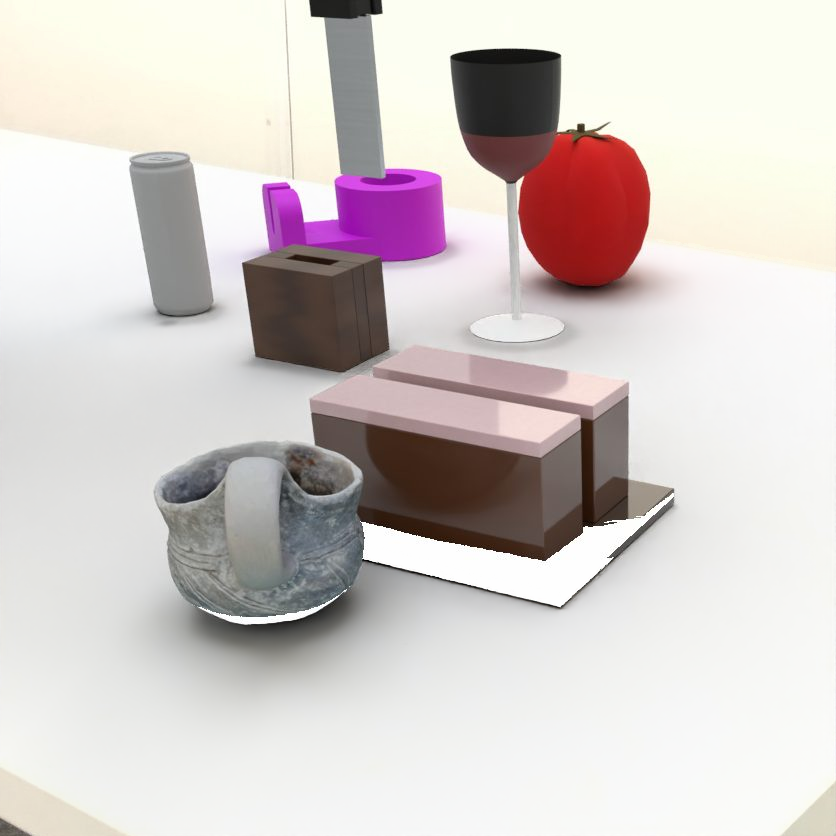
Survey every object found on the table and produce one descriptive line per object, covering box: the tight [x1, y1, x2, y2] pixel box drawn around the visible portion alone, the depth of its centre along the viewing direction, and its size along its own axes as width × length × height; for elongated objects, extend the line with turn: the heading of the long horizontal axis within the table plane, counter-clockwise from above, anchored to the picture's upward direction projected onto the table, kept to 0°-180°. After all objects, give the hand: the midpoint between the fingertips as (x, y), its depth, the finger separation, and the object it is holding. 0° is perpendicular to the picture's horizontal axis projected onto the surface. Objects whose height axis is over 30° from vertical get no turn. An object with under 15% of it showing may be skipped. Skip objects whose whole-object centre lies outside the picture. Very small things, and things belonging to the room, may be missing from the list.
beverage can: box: [128, 150, 215, 317], centre depth 107 cm, size 5×5×12 cm
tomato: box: [517, 121, 651, 287], centre depth 114 cm, size 12×12×13 cm
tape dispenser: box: [261, 168, 447, 262], centre depth 125 cm, size 16×10×6 cm, turn 114°
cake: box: [308, 344, 675, 561], centre depth 74 cm, size 18×14×8 cm
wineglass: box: [449, 47, 565, 343], centre depth 101 cm, size 8×9×20 cm
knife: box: [323, 0, 386, 179], centre depth 76 cm, size 3×2×19 cm, turn 66°
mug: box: [153, 439, 365, 617], centre depth 63 cm, size 10×12×10 cm
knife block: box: [241, 244, 390, 373], centre depth 99 cm, size 8×6×7 cm
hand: (347, 14), depth 77 cm, fingers closed on knife, 2 cm apart
